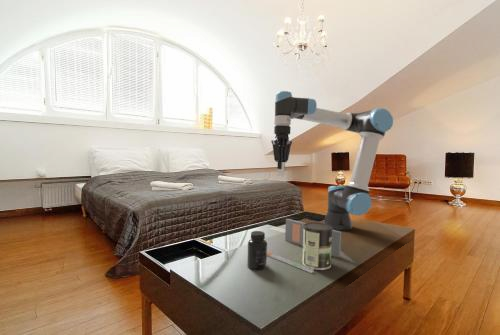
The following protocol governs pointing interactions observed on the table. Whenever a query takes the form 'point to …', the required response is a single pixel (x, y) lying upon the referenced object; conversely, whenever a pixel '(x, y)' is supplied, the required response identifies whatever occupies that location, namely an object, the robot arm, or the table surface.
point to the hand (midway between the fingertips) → (280, 175)
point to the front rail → (290, 262)
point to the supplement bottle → (257, 251)
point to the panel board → (296, 236)
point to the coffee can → (317, 245)
